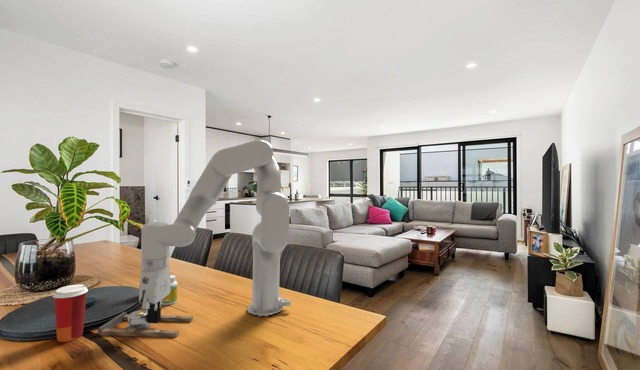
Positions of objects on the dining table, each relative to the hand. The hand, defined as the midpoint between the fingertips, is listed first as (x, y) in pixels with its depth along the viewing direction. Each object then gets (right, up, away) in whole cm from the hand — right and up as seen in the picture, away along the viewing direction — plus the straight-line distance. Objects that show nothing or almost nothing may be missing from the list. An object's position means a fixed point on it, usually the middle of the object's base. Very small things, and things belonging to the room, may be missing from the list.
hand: (154, 321), depth 91 cm
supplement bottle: (-5, -2, +19) cm, 20 cm away
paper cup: (-20, -1, -7) cm, 22 cm away
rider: (-5, -2, 0) cm, 5 cm away
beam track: (-1, -2, 0) cm, 2 cm away
